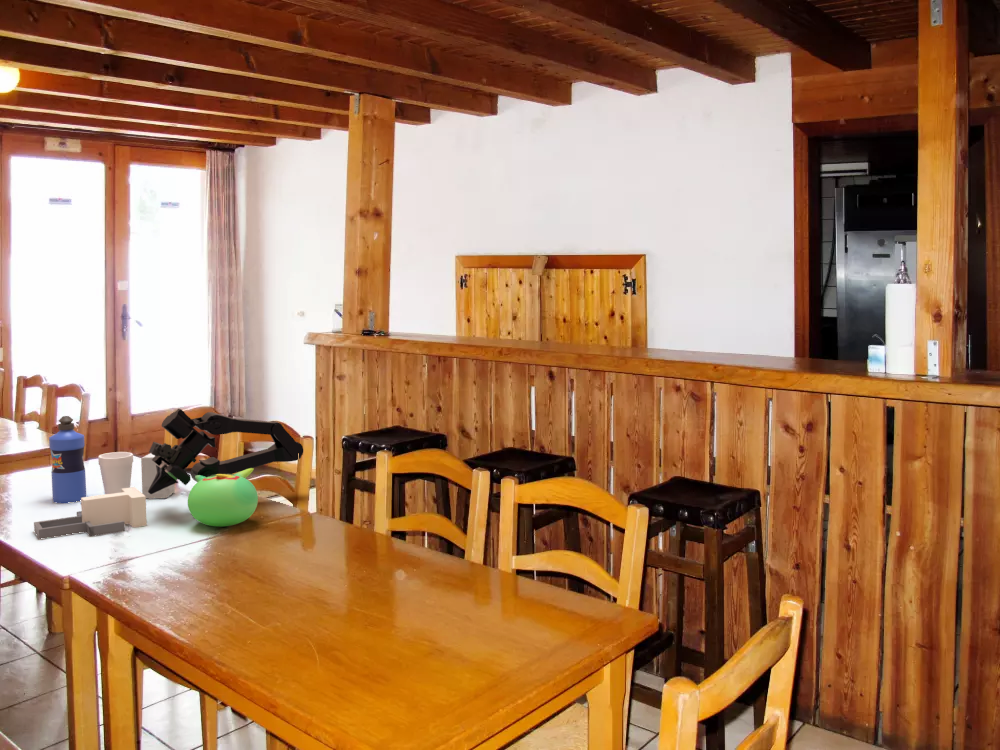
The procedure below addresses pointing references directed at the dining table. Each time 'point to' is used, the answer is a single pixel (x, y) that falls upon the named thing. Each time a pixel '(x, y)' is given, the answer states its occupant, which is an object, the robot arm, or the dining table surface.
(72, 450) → the water bottle
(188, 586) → the dining table surface
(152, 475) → the supplement box
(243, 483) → the green rounded blob
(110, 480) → the foam cup
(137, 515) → the t block
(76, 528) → the t outline
